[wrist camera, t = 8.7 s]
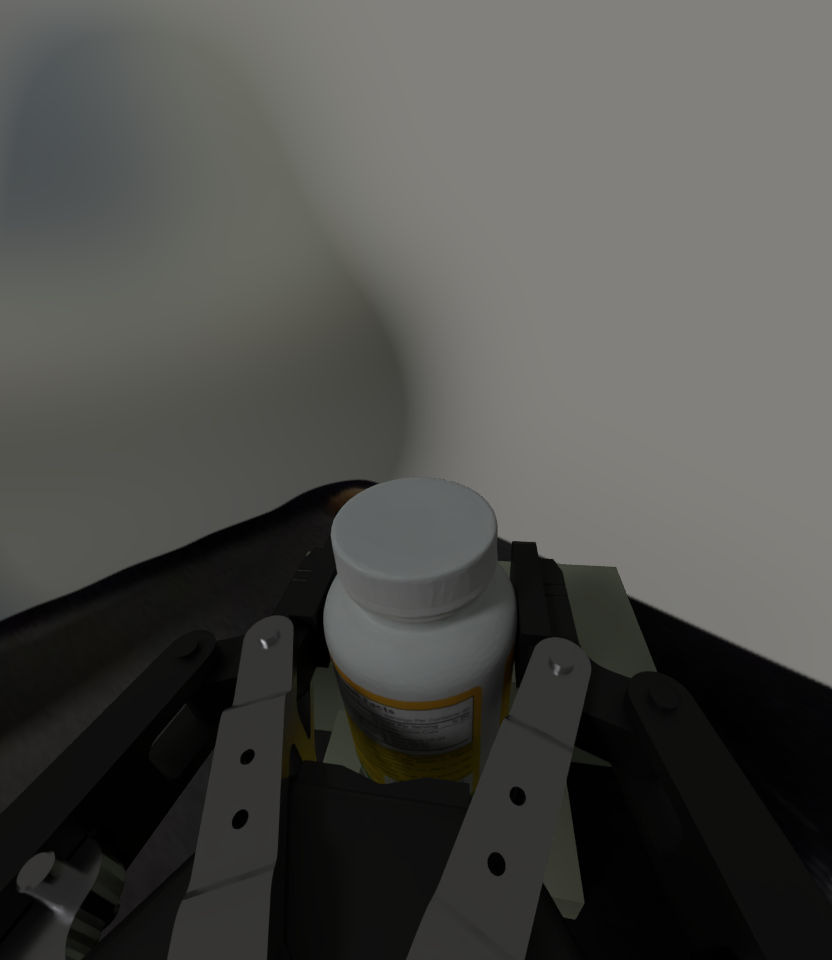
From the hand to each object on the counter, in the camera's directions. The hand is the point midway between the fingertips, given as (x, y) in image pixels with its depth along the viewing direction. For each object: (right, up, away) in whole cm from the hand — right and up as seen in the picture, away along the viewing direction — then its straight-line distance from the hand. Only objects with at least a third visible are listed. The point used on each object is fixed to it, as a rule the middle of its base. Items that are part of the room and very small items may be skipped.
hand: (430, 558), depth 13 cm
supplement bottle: (0, -7, +1) cm, 7 cm away
